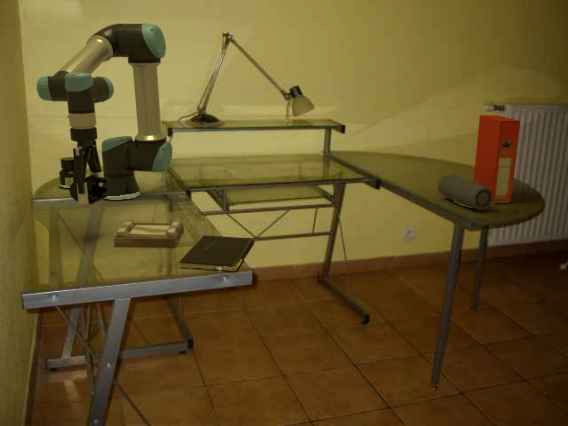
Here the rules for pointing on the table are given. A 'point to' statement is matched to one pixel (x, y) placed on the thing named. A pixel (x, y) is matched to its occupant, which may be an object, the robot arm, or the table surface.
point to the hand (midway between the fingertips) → (90, 198)
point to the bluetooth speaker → (465, 191)
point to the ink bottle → (66, 171)
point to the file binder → (496, 155)
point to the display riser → (148, 234)
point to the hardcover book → (217, 252)
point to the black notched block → (91, 189)
